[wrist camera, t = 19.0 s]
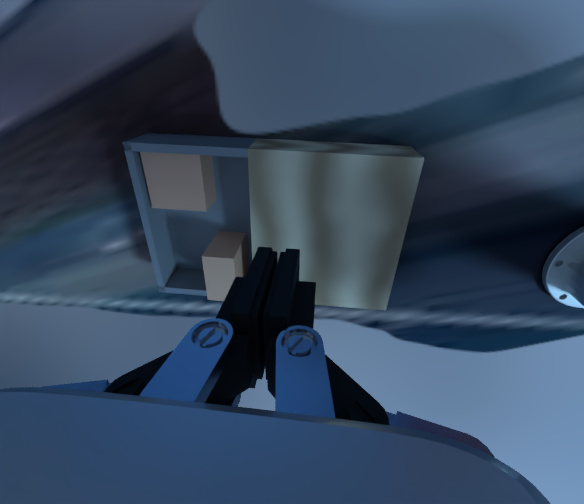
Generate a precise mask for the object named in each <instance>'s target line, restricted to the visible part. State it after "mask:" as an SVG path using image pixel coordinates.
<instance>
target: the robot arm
mask: <svg viewBox="0 0 584 504" xmlns="http://www.w3.org/2000/svg"><path fill="white" fill-rule="evenodd" d="M299 270H300V249H288V248H286V251H285V252H280V256H279V259H278V257H277V251H273V249H272V247H258V249H257V251H256V253H255V256H254V258H253V260H252V263H251V265H250V268H249V270H248V272H247V275H246V277H235V279H234V281H233V283H232V285H231V287H230V289H229V292H228V294H227V296H226V298H225V300H224V302H223V304H222V306H221V308H220V311H219V313H218V315H217V317H216V318H211V319H206V320H203V321H200V322H199V323H197V324H195V325H194V326H193V327H192V328H191V329H190V330H189V331H188V333H187V334H186V335H185V336H184V338H183V339H182V340H181V342H180V343H179V344H178V346H177V347H176V348H175V350H173V351H171V352H169V353H167V354H165V355H163V356H161V357H159V358H157V359H155V360H153V361H151V362H149V363H147V364H145V365H143V366H141V367H138V368H137V369H134V370H132V371H130V372H128V373H126V374H124V375H122V376H121V377H119V378H117V379H116V380H114V381H113V382H112V383H109V382H108V380H100V381H91V382H81V383H71V384H61V385H53V386H52V385H51V386H44V387H22V388H21V387H19V388H5V389H0V504H550V502H549V501H548V500H547V499H546V498H545V497H544V496H543V494H542V493H541V492H540V491H539V490H538V489H537V488H536V487H535V486H534V485H533V484H532V483H531V482H529V481H528V480H527V479H526V478H525V477H524V476H522V475H521V474H520V473H518V472H517V471H515V470H514V469H512V468H511V467H509V466H508V465H506V464H504V463H503V462H501V461H499V460H498V459H496V458H495V457H494V456H493V454H492V453H491V452H490V450H489V449H488V448H487V446H485V445H484V444H483V443H482V442H481V441H479V440H478V439H477V438H474V437H473V436H471V435H468V434H466V433H463V432H460V431H456V430H454V429H450V428H447V427H444V426H441V425H438V424H435V423H432V422H429V421H426V420H423V419H420V418H417V417H414V416H411V415H407V414H404V413H401V412H398V411H397V413H396V415H395V414H392V413H389V412H386V411H385V409H384V408H383V407H382V406H381V405H380V404H379V402H377V401H376V400H375V399H374V398H373V397H372V396H371V395H370V394H368V393H367V392H366V391H365V390H364V389H363V388H362V387H361V386H360V385H358V384H357V383H356V382H355V381H354V380H353V379H352V378H351V377H350V376H349V375H347V374H346V373H345V372H344V371H343V370H342V369H341V368H340V367H339V366H337V365H336V364H335V363H334V362H333V361H332V360H331V359H330V358H329V357H327V356H326V355H325V351H324V345H323V341H322V338H321V336H320V335H319V333H318V332H317V331H315V330H314V329H313V322H314V309H315V293H316V282H307V281H299ZM542 281H543V285H544V287H545V289H546V291H547V292H548V293H549V294H550V295H551V296H552V297H553V298H554V299H556V300H557V301H558V302H560V303H563V304H565V305H568V306H572V307H580V308H584V226H583V227H581V228H579V229H577V230H576V231H574V232H573V233H571V234H570V235H568V236H567V237H566V238H565V239H564V240H562V241H561V242H560V243H559V244H558V245H557V246H556V247H555V248H554V250H553V251H552V252H551V253H550V255H549V257H548V258H547V260H546V262H545V264H544V267H543V271H542ZM264 369H266V380H268V390H269V392H270V393H271V394H272V395H273V396H274V397H275V400H276V401H275V405H276V406H275V411H269V410H260V409H252V408H243V407H238V404H239V402H240V398H241V393H242V392H243V391H245V390H246V389H248V388H255V385H256V381H257V379H262V377H263V373H264Z"/></svg>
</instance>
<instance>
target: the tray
mask: <svg viewBox="0 0 584 504" xmlns="http://www.w3.org/2000/svg"><path fill="white" fill-rule="evenodd" d="M256 139H257V138H242V137H223V136H203V135H184V134H164V133H146V134H143V135H140V136H138V137H135V138H132V139H129V140H127V141H124V142H122V143H123V147H124V151H125V155H126V159H127V163H128V167H129V171H130V175H131V179H132V183H133V187H134V192H135V196H136V200H137V204H138V208H139V212H140V216H141V220H142V224H143V228H144V232H145V236H146V240H147V244H148V248H149V252H150V256H151V260H152V264H153V268H154V272H155V276H156V281H157V285H158V289H159V292H167V293H179V294H191V295H204V296H207V290H206V284H205V277H204V270H203V263H202V255H203V253H204V252H205V250H206V249H207V247H208V246H209V244H210V243H211V241H212V239H213V238H214V236H215V235H216V233H217V232H218V231H227V232H241V233H246V243H247V263H248V270H249V268H250V265H251V263H252V241H251V218H250V194H249V170H248V148H249V147H250V146H251V145H252V144H253V142H254V141H255V140H256ZM140 152H157V153H175V154H193V155H211V156H212V162H213V171H214V181H215V190H216V201H215V202H214V203H213V204H212V206H211V207H210V208H209V209H208V211H207V212H206V211H190V210H174V209H159V208H152V204H151V200H150V195H149V191H148V186H147V182H146V177H145V173H144V169H143V164H142V160H141V155H140Z"/></svg>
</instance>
